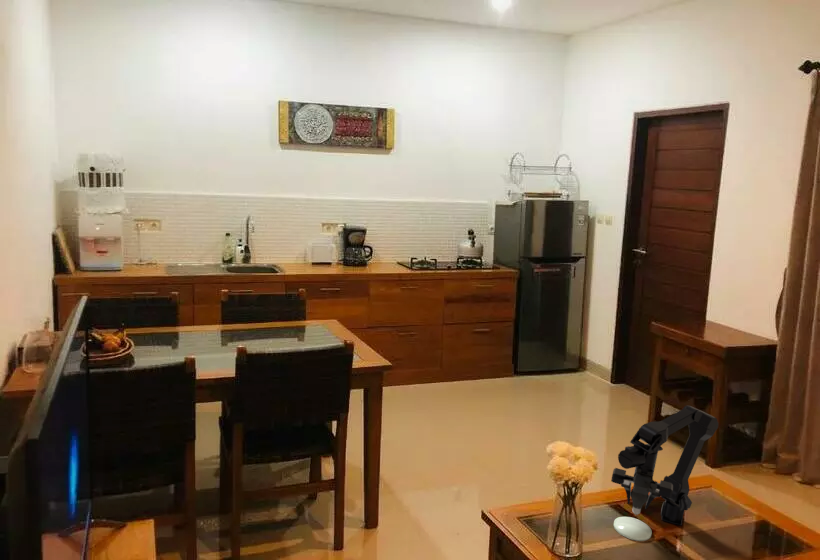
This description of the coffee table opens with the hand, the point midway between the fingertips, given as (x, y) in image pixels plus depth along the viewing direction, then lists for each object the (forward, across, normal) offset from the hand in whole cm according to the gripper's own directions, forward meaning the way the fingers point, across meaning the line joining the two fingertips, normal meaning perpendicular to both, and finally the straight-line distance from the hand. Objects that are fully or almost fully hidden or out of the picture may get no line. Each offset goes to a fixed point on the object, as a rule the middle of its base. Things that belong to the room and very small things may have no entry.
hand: (637, 505), depth 217 cm
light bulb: (+3, 0, 0) cm, 3 cm away
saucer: (+9, 0, 0) cm, 9 cm away
